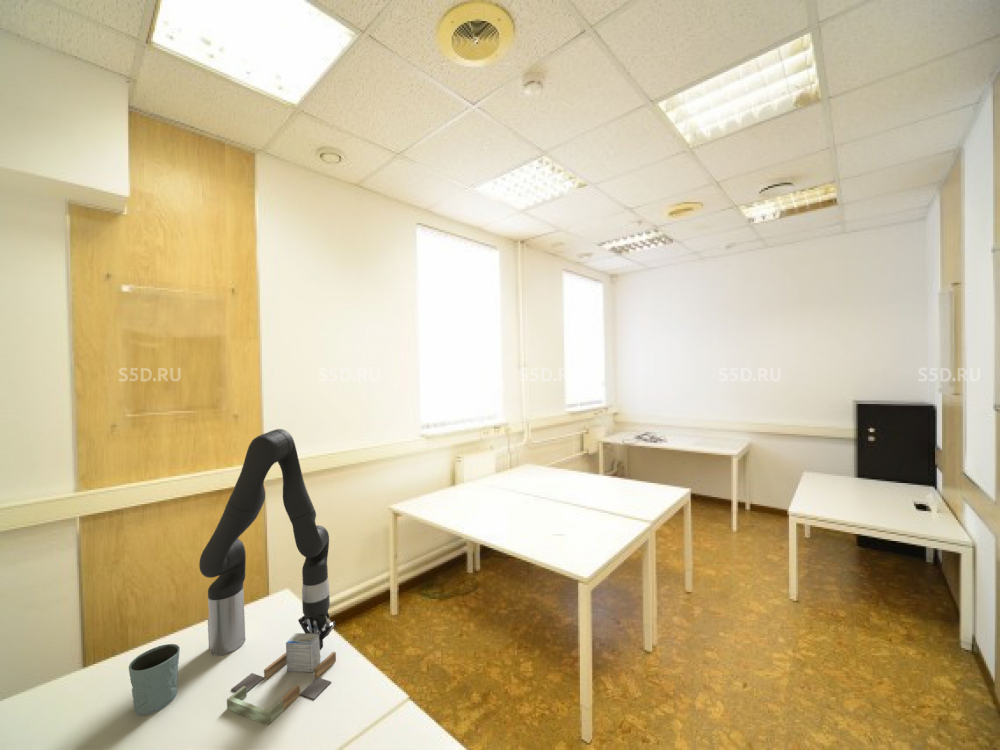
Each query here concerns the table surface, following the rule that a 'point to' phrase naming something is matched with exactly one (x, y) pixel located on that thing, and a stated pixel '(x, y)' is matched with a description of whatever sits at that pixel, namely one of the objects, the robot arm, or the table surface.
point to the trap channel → (268, 716)
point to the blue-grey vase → (154, 678)
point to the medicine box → (303, 652)
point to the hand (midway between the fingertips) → (317, 650)
